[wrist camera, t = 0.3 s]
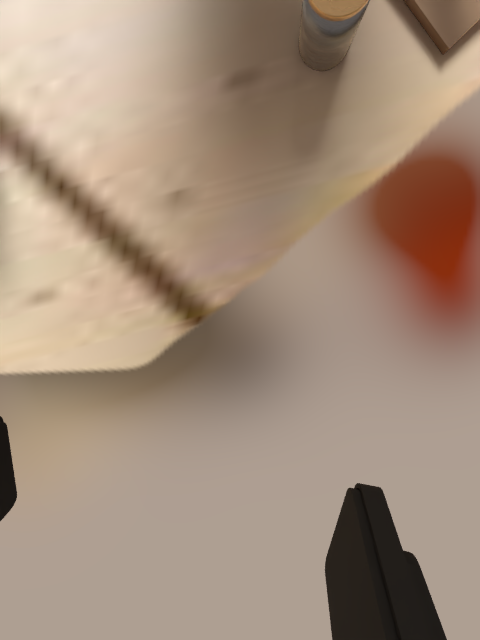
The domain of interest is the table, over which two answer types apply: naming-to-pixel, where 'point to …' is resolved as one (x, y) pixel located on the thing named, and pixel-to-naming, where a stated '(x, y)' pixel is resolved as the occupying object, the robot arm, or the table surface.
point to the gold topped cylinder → (328, 30)
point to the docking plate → (445, 19)
